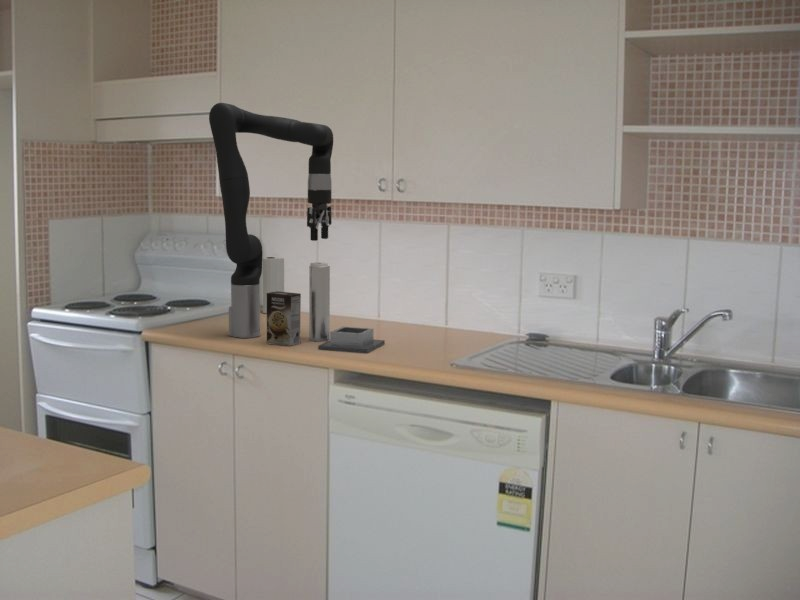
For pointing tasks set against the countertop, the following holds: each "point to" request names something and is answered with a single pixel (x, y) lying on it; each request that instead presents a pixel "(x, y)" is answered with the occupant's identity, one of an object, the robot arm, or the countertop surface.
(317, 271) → the silver metal cylinder
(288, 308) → the coffee box
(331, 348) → the board
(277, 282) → the paper towel roll
